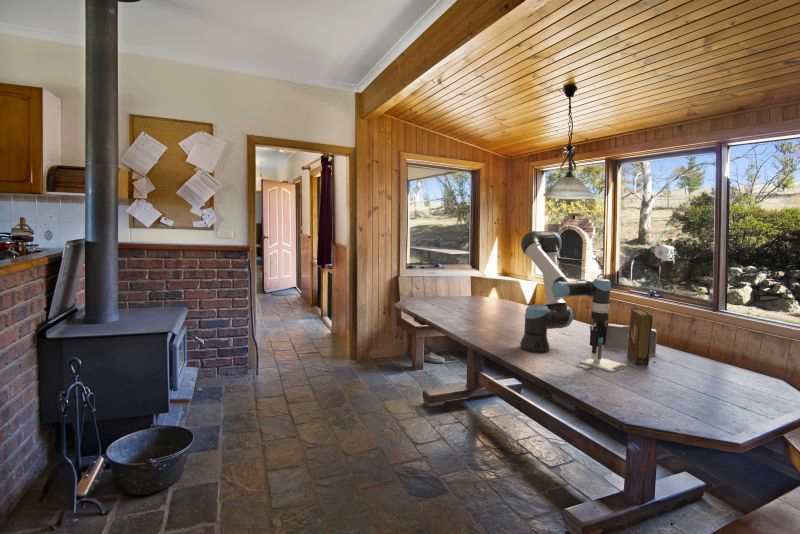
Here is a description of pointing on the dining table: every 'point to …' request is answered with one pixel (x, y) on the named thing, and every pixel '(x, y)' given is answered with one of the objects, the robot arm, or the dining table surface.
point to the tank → (624, 338)
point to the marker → (599, 350)
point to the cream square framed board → (604, 364)
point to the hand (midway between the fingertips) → (596, 358)
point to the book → (639, 336)
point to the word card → (583, 366)
